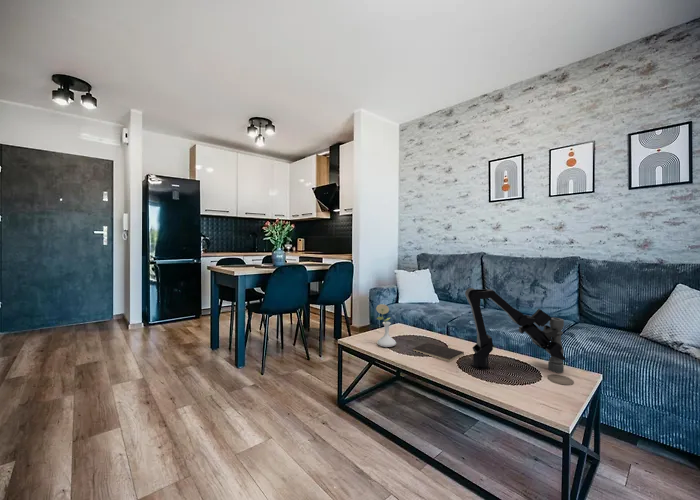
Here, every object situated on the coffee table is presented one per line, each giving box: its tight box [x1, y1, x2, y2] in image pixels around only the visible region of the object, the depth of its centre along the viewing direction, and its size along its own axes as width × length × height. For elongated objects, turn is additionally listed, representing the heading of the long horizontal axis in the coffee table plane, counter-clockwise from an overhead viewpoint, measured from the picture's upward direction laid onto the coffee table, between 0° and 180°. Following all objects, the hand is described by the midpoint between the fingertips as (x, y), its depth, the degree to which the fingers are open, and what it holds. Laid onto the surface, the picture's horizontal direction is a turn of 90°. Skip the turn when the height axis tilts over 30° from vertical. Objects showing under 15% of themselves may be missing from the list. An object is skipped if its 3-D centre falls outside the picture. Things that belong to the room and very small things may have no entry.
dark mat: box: [546, 373, 575, 386], centre depth 139 cm, size 10×10×1 cm
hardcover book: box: [412, 341, 465, 363], centre depth 175 cm, size 16×23×2 cm
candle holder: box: [547, 317, 565, 374], centre depth 150 cm, size 6×6×25 cm
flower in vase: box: [375, 303, 397, 348], centre depth 188 cm, size 13×11×25 cm
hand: (559, 356), depth 150 cm, fingers open, 9 cm apart
